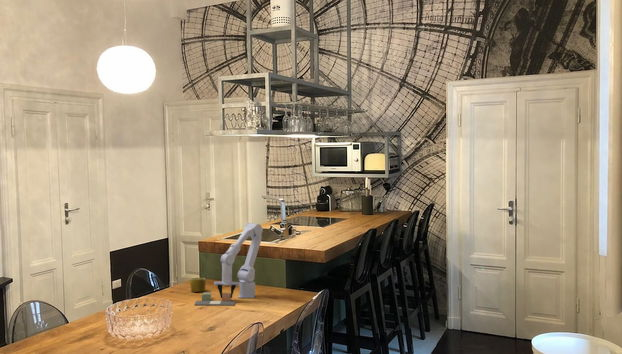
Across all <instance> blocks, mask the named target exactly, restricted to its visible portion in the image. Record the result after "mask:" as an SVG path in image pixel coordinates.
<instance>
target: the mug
mask: <svg viewBox="0 0 622 354" xmlns="http://www.w3.org/2000/svg"><path fill="white" fill-rule="evenodd" d="M206 283H207V279H206V277H195V278H194V277H193V278H190V291H191V292H192V293H203V292H205V291H206Z"/></svg>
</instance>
